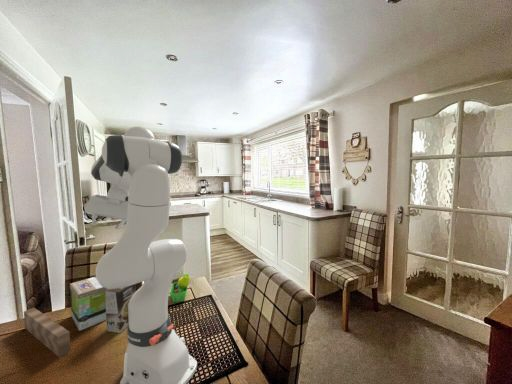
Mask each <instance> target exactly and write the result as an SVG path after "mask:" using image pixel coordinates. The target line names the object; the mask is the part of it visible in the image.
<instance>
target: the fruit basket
mask: <svg viewBox="0 0 512 384" xmlns="http://www.w3.org/2000/svg"><path fill="white" fill-rule="evenodd" d="M190 279H191V277H190V274H188V273H185V274H183V276H181V277H180V278H178V281H177V282H172V284H171V287H170V290H169V295H170V296H171V301H172V302H173V303H179V302H184V301H186V299H185V298H186V295H187V291H188V287H189V284H190Z"/></svg>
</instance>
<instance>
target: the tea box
mask: <svg viewBox="0 0 512 384" xmlns="http://www.w3.org/2000/svg"><path fill="white" fill-rule="evenodd" d="M106 290H108V289H106V288H104V287H103V286H101V285H100V284H99V282H98V281H97V278H96V276H93V277H90V278H85V279H82V280H77V281H75V282H72V283H71V282H70V284H69V295H70V297H69V299H70V315H71V318H72V320H73V322H74V323H75V326H76V328H77V329H78V331H82V330H85V329H88V328H90V327H92V326H95V325H97V324H99V323H102V322H104V321H105V322H106V294H105V291H106Z"/></svg>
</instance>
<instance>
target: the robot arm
mask: <svg viewBox="0 0 512 384" xmlns="http://www.w3.org/2000/svg"><path fill="white" fill-rule="evenodd" d="M182 153H183V152H182V150H181V148H180V147H179V146H178V145H177V144H175V143H174V142H170V141H166V140H165V141H162V140H158V139H156V137H155V135H154V134H153V133H152V131H150V130H149V129H147V128H145V127H142V126H133V127H130V128H129V129H128V130H126V131H125V133H124V134H123V135H122V134H113V135H112V134H111V135H109V136H107V137H106V138H105V141H104V143H103V144H102V148H101V155H100V156H99V157H98V158H97V160H95V161H94V163H93V164H92V166H91V169H90V174H91V176H92V177H93V178H94V180H96V181H100V182H105V183H109V184H111V187H110V188H109V190H108V191H107V195H100V194H94V195H92V196H90V199H89V202H88V203H87V204H86V205H85V208H84V212H85V213H86V214H87V215H91V220H92V221H91V226H96V227H97V225H98V223H99V222H98V221H97V220H96V219H97V218H98V217H105V218H110V219H114V220H115V219H116V220H120V222H119V223H116V225H115V227H114V228H115V229H116V230H120V229H121V227H122V226H123V225H124V224H125V228H124V231H123V233H122V234H121V236H120V238H119V239H118V241H117V242H116V243H115V244H114V246H113V247H112V248H111V249H110V250H108V251H107V252H106V253H105V254H103V255H102V256H101V258H100V259H99V260H98V262H97V264H96V267H95V277H96V278H97V281H98V282H99V284H100V285H101V286H103V287H104V288H106V289H107V290H108V289H116V288H122V287H128V286H131V285H134V284H136V285H137V284H139V283H142V282H143V284H142V285H141V286H140V287H139V288H138V289H137V290H136V292H135V293H134V294H133V295H132V297H131V298H130V301H129V303H128V319H129V324H128V326H127V327H126V329H127V330H126V337H127V341H128V343H127V348H126V349H125V353H124V357H123V358H124V359H123V361H124V362H123V375H122V378H121V379H120V382H119V384H187V383H189V381H190V380H191V379H192V377H193V376H194V375H195V372H196V371H197V367H198V361H197V360H196V359H195V358H194V357H193V356H192V355H191V354H189V350H188V347H187V345H186V339H185V337H184V336H181V337H179V335H178V333H176V330H174V327H175V326H174V325H175V323H172V321H171V318H170V316H169V312H168V311H169V309H168V306H169V305H168V304H169V294H170V290H171V287H172V284H173V281H174V278H175V277H176V275H177V273H178V272H179V270H180V269H182V267H183V266H185V264H186V261H187V259H188V249H187V246H186V245H185V243H184V242H183V241H182V240H181V239H179V238H169V239H168V238H164V239H159V240H155V239H156V238H157V237H159V235H161V234H162V233H163V232H164V231H166V229H167V228H168V226H169V221H170V219H169V218H170V208H171V207H170V205H171V185H170V176H169V175H171V174H176V173H178V171H179V170H180V169H181V167H182V162H183V154H182Z"/></svg>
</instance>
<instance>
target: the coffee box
mask: <svg viewBox="0 0 512 384" xmlns="http://www.w3.org/2000/svg"><path fill="white" fill-rule="evenodd" d="M136 285H137V284H134V285H131V286H128V287H122V288H116V289H107V290H106V291H105V294H106V320H105V322H106V331H107V332H111V333H112V332H113V333H118V334H119V333H122V332H123V331H124V330H125V329H127V327H128V324H129V319H128V303H129V301H130V298H131V297H132V295H133V294H134V293H135V292H136V291H137V290H136V289H137V287H136Z"/></svg>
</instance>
